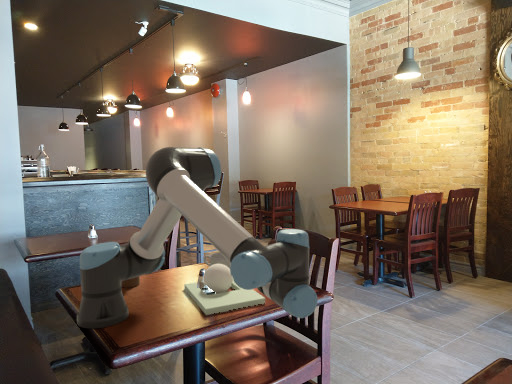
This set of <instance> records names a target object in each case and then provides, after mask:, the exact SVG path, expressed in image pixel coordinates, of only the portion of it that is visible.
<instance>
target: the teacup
mask: <svg viewBox="0 0 512 384" xmlns="http://www.w3.org/2000/svg"><path fill="white" fill-rule="evenodd" d="M207 258H208V259H209V261H207ZM202 260H203V262H204V264H205V265H207V266H208V268H209V267H210V266H211V265H214V264H223V265H226V266H227V267H228V268H229V269H230V262H229V261H228V260H227V259H226V258H225V257H224V256H223V255H222V254H221V253H220V252H219V251H217V252H214V253H211V254H205V255H204V256H203V259H202Z"/></svg>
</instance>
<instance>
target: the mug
mask: <svg viewBox="0 0 512 384" xmlns="http://www.w3.org/2000/svg"><path fill="white" fill-rule="evenodd" d="M139 285H140V276H138V277H135V278H131V279H127V280H124V281H121V288H122V289H123V288H125V289H127V288H128V289H129V288H135V287H137V286H139Z"/></svg>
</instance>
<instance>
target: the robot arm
mask: <svg viewBox="0 0 512 384" xmlns="http://www.w3.org/2000/svg"><path fill="white" fill-rule="evenodd" d="M221 165H222V164H221V161H220V159H219V157H218V155H217V154H216V153H215V152H214V151H213V150H211V149H210V148H209V149H208V148H204V147H176V146H166V147H162V148H161V149H160V148H159V149H158V150H157V151H155V152H154V153H153V154H152V155H150V157H149V159H148V160H147V164H146V167H145V178H146V182H147V183H148V186H149V188H150V190H151V191H152V192H153V193H154V195H156V196H157V197H158V200H157V201H156V203H155V204H154V207H153V209H152V210H151V212H150V213H149V215H148V217H147V219H146V221H145V223H144V224H143V225H142V228H140V230H139V231H137V232H135V233H133V234H132V235H131V237H130V239H129V240H128V242H126V243H123V244H120V243H118V242H116V241H107V242H100V243H95V244H93V245H90V246H88V247H86V248H84V249H83V250H82V251H81V252H80V255H79V264H78V265H79V272H80V288H81V299H80V300H81V301H80V304H79V306H78V307H79V308H78V312H77V314H76V325H78V327H80V328H82V329H83V328H84V329H102V328H107V327H112V326H114V325H118V324H120V323H122V322H124V321H125V320H126V319H128V317H129V316H130V315H129V306H128V305H127V303H126V300H125V297H124V294H123V291H122V289H123V287H121V281H124V280H127V279H131V278H135V277H138V276H139V277H141V276H144V275H150V274H153V273H155V272H157V271H158V270H160V268H162V266H163V265H164V262H165V259H166V258H165V255H166V251H165V247H164V244H165V242H166V240H167V239H168V238H169V236H170V234H171V232H172V231H173V230H174V228H175V227H176V225H177V223H178V222H179V220H180V219H181V217H182V216H183V217H184V218H185V219H186V220H187V221H188V223H190V225H192V226H193V227H194V228H195V229H196V230H197V232H198V233H199V234H201V235H202V236H203V237H204V238H205V239H206V240H207V241H208V243H210V244H211V246H213V247H214V248H215V249H216V250H217V252H220V253H221V254H222V255H223V256H224V257H225V258H226V259H227V260H228V261H229V262H230V263H231V265H230V273H231V276H233V279H234V282H235V283H236V285H237V286H239V287H240V288H242V289H245V290H251V289H253V290H255V289H257V290H258V291H259V292H260V293H261V294H263V296H264V297H265V296H266V297H267V298H268V299H270V300H271V301H273V302H274V303H275V304H276V305H278V306H279V307H280V308H281V309H282V310H284V311H285V312H286V313H287V314H289V315H291V316H293V317H295V318H298V319H304V318H307V317H309V316H311V315H312V314H313V313H314V312H315V310H316V308H317V305H318V295H317V292H316V290H314V288H312V287H311V285H310V276H309V275H310V250H311V249H310V239H309V237H310V236H309V234H308V232H307V231H305V230H303V229H297V228H296V229H295V228H290V229H289V228H285V229H281V230H279V231H278V232H277V233H276V238H275V239H276V242H277V243H274V244H270V245H268V244H267V245H264V244H262V243H261V242H260V241H259V240H258V239H257V238H255V237H254V236H253V235H252V234H251V233H250V232H249V231H248V230H247V229H246V228H245V227H243V226H242V225H241V224H240V223H239V222H238V221H237V220H236V219H234V217H232V216H231V215H230V214H229V213H228V212H227V211H226V210H225V209H223V208H222V207H221V206H220V205H219V204H218V203H217V202H216V201H214V199H213V198H211V197H210V196H209V195H208V194H207V193H206V192H205V190H206V189H207V188H208V189H211V188H213V187H216V186H217V185H218V184H219V183H220V180H221V177H222V173H223V172H222V166H221Z"/></svg>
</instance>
